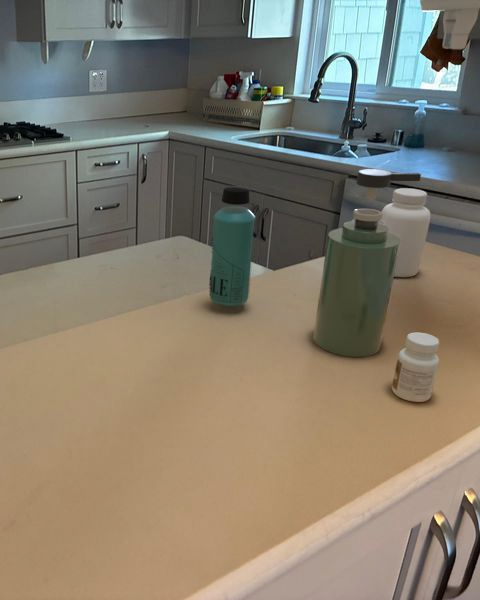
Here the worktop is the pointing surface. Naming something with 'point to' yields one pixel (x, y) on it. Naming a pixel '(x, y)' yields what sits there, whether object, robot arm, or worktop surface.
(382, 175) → the pump head
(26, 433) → the worktop surface
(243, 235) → the beverage bottle
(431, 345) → the pill bottle
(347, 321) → the dispenser
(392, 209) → the pill bottle
